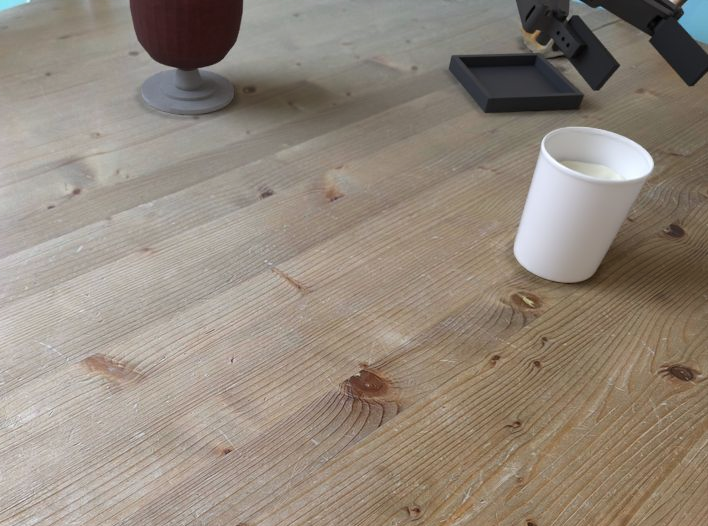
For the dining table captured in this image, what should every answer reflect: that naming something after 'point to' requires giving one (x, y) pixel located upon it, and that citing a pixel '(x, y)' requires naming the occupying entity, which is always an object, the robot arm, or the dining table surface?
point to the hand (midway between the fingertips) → (656, 77)
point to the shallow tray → (514, 82)
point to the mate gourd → (187, 51)
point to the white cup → (578, 201)
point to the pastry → (546, 51)
